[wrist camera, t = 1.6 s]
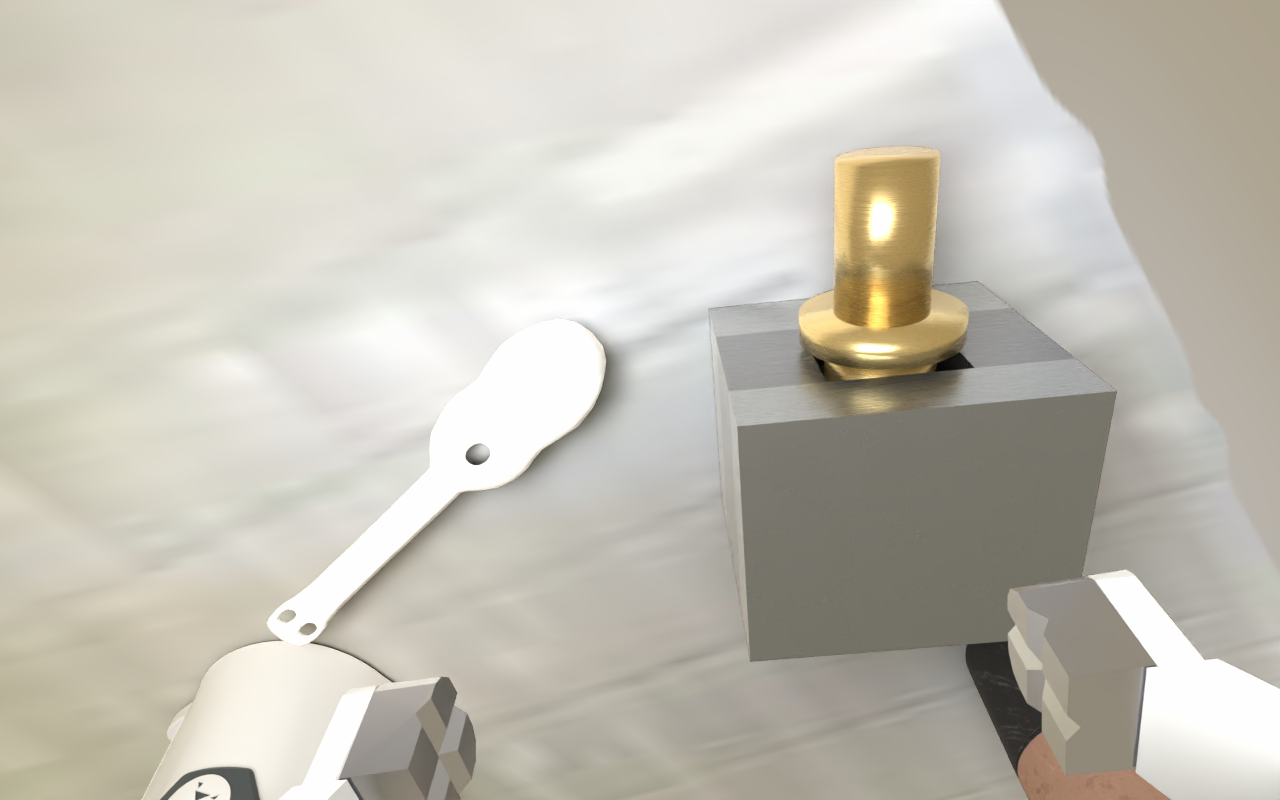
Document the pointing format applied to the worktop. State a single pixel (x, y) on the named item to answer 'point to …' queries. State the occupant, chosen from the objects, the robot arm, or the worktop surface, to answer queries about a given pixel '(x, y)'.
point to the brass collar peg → (884, 271)
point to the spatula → (469, 454)
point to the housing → (901, 482)
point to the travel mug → (1040, 738)
